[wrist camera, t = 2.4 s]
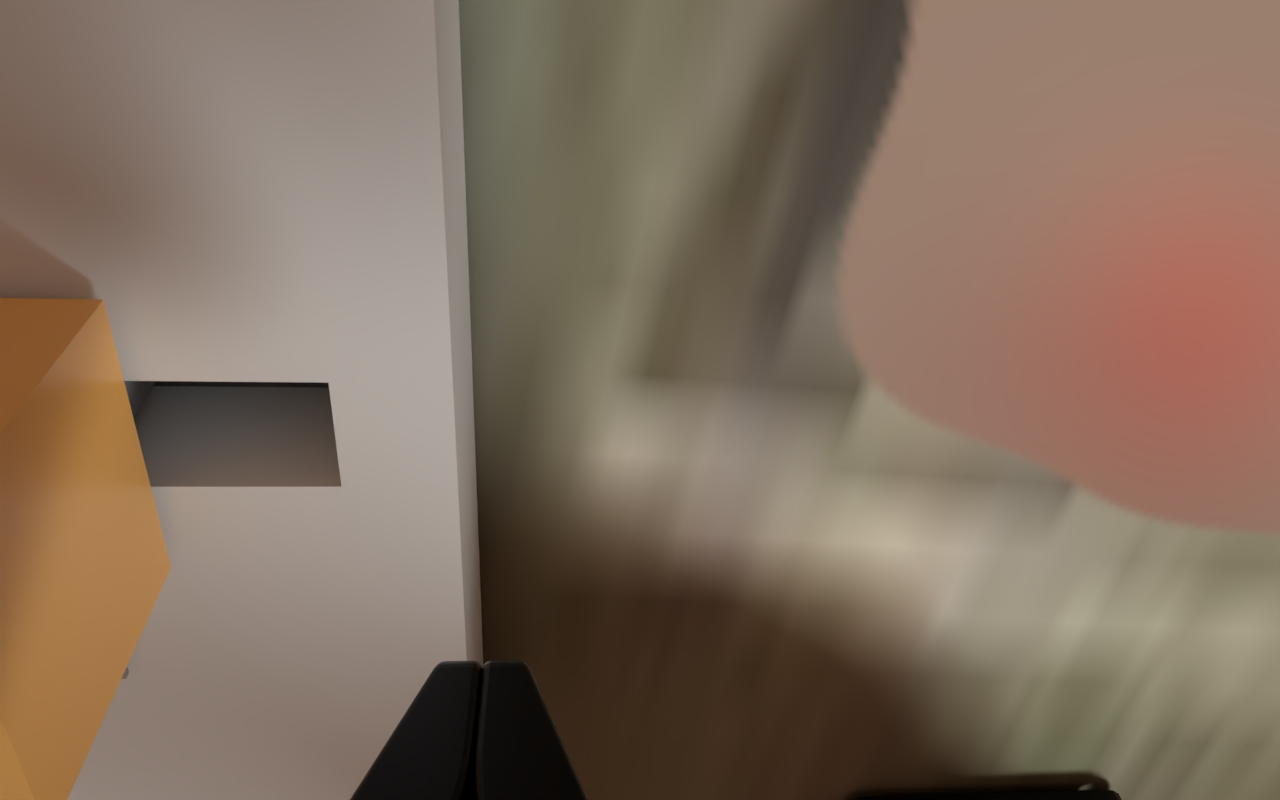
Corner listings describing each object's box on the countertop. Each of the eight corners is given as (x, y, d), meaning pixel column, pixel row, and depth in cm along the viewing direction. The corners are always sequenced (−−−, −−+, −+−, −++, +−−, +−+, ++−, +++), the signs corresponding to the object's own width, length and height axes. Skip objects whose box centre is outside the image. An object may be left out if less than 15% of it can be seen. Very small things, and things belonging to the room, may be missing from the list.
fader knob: (166, 217, 14) (-76, 532, 8) (217, 464, 16) (50, 837, 10) (-27, 213, 13) (-403, 533, 8) (51, 464, 16) (-205, 845, 10)
